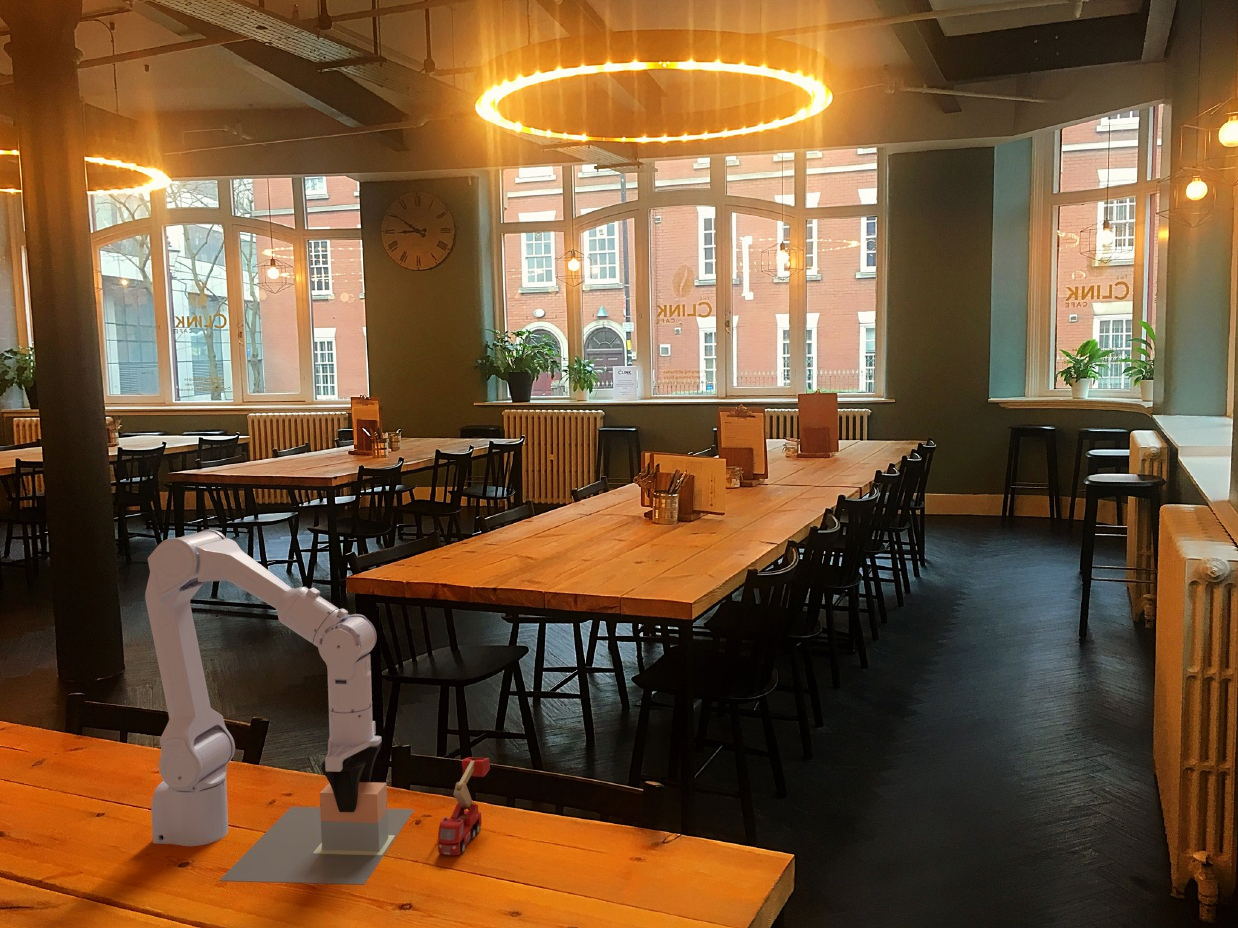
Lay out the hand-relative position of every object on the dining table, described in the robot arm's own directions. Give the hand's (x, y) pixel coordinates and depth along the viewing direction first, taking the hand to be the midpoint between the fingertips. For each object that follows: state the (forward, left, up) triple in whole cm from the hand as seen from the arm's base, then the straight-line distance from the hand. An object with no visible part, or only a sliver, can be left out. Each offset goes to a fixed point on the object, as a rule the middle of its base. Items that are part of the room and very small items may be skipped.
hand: (353, 803), depth 138 cm
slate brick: (0, 0, -6) cm, 6 cm away
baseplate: (-4, 0, -7) cm, 8 cm away
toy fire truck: (+14, +6, -7) cm, 17 cm away
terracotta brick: (0, 0, -2) cm, 2 cm away
